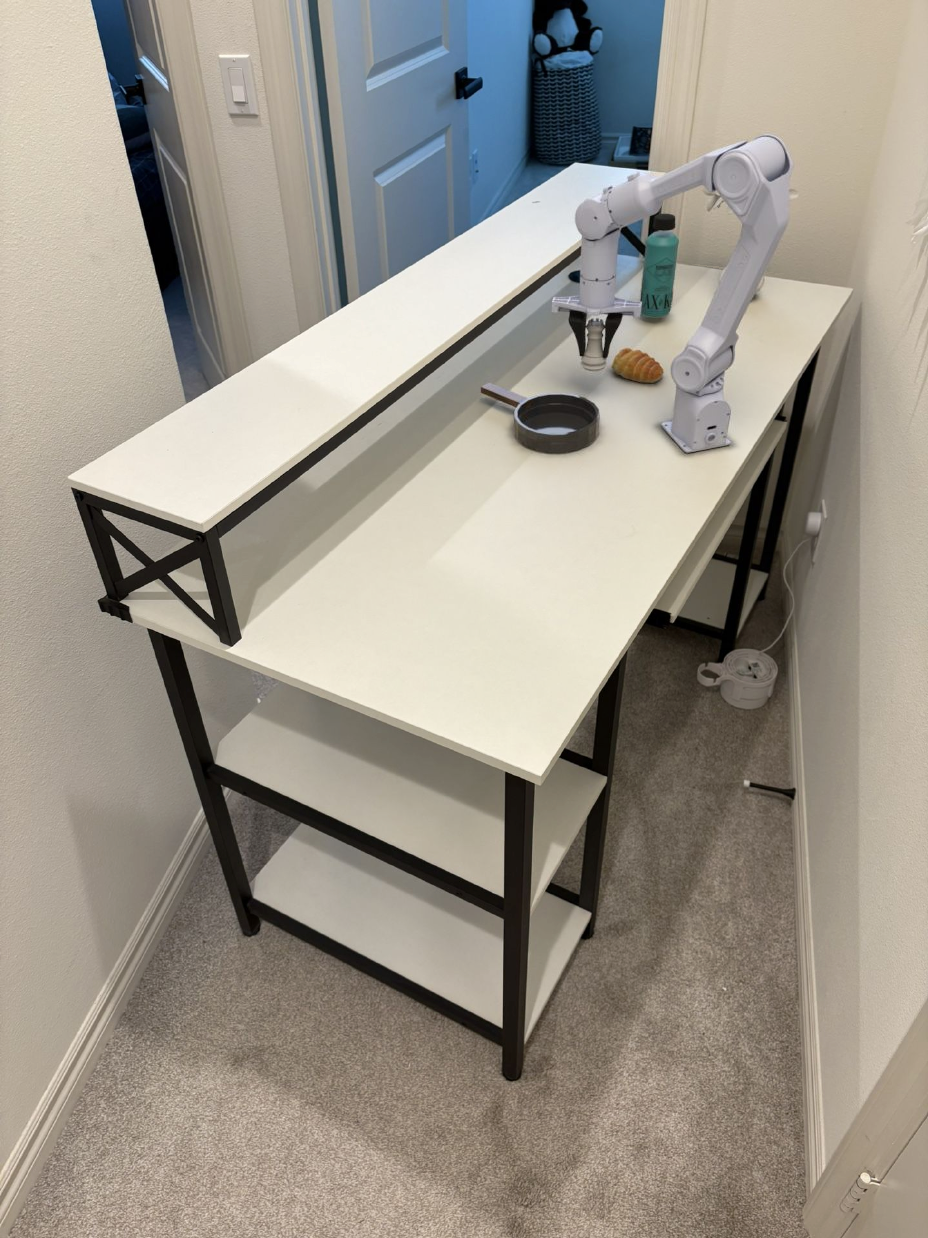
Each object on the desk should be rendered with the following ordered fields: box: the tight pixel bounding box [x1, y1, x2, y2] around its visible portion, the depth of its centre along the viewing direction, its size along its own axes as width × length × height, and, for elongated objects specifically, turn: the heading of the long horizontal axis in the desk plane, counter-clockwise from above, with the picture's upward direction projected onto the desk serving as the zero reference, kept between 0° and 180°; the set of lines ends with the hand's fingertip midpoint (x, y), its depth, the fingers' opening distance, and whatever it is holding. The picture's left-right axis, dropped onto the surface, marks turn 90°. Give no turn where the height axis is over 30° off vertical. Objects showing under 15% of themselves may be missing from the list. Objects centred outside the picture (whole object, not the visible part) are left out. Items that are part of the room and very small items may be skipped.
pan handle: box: [480, 382, 530, 409], centre depth 153 cm, size 10×2×1 cm, turn 45°
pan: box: [513, 392, 601, 454], centre depth 148 cm, size 14×14×4 cm
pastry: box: [611, 347, 665, 384], centre depth 161 cm, size 9×7×4 cm
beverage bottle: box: [638, 213, 680, 318], centre depth 174 cm, size 6×7×20 cm
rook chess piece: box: [580, 317, 608, 372], centre depth 150 cm, size 4×4×8 cm
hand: (593, 354), depth 151 cm, fingers closed on rook chess piece, 3 cm apart
